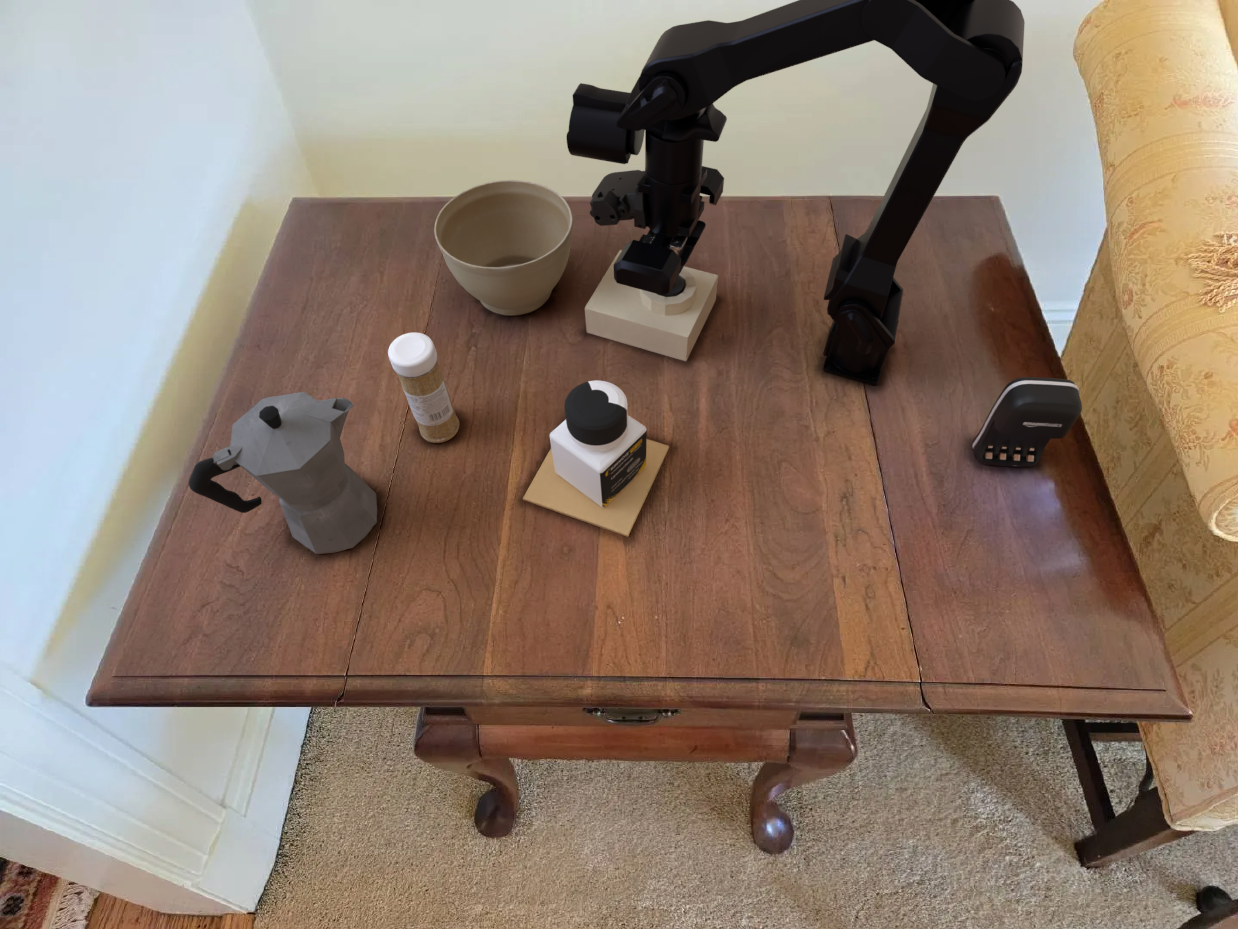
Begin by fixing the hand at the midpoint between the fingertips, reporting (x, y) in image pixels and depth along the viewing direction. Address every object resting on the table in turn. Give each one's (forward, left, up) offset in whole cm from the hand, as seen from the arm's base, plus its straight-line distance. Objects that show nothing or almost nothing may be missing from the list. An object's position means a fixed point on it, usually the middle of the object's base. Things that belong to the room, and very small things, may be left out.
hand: (668, 283), depth 91 cm
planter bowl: (+20, +2, -6) cm, 21 cm away
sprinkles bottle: (+18, +25, -6) cm, 32 cm away
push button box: (+2, 0, -6) cm, 6 cm away
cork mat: (-1, +24, -6) cm, 25 cm away
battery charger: (-41, +6, -6) cm, 42 cm away
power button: (0, 0, -2) cm, 2 cm away
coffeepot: (+23, +40, -6) cm, 47 cm away
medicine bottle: (-1, +24, -6) cm, 24 cm away
